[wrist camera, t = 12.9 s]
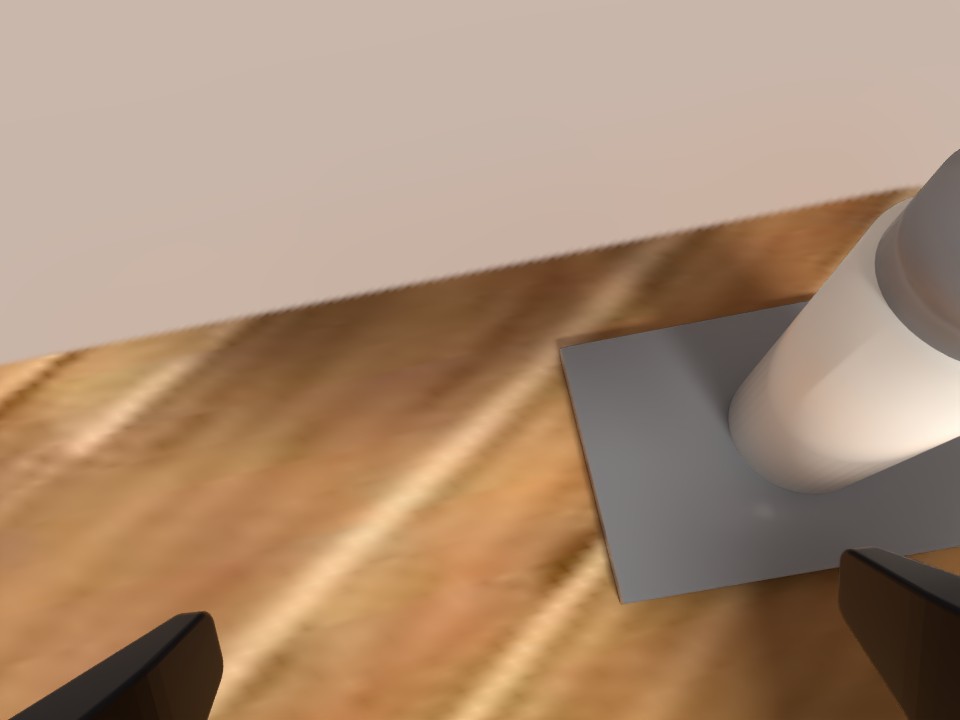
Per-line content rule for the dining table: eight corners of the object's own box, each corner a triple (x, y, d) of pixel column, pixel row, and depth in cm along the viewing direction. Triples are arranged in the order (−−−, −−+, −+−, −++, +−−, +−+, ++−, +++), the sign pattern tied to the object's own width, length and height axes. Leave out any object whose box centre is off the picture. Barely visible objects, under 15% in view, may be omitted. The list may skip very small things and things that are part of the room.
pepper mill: (903, 461, 20) (1325, 273, 9) (778, 516, 20) (1062, 389, 9) (816, 347, 22) (1073, 87, 11) (703, 395, 22) (855, 174, 11)
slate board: (932, 285, 23) (944, 274, 23) (1080, 525, 19) (1100, 522, 18) (560, 356, 24) (560, 347, 23) (620, 604, 20) (623, 603, 19)
